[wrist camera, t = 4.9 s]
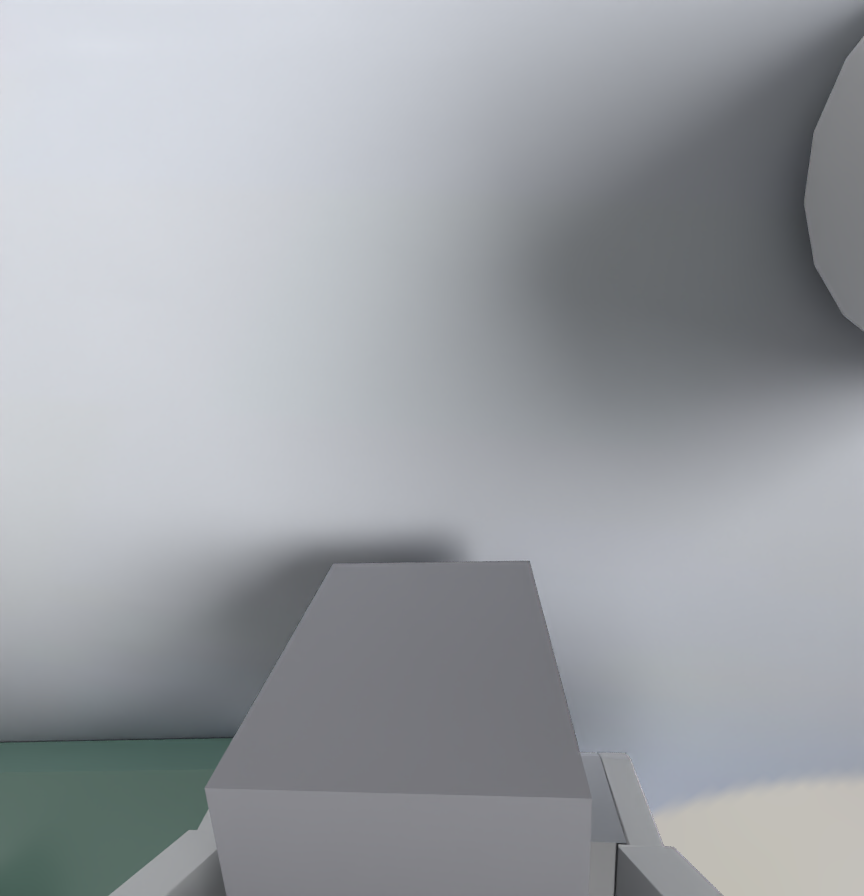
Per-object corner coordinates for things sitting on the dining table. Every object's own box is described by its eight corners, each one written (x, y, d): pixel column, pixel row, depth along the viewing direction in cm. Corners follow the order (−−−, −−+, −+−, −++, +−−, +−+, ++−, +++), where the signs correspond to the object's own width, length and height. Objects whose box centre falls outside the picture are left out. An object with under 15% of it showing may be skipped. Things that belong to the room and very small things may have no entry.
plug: (529, 561, 10) (590, 798, 5) (530, 846, 11) (577, 1233, 6) (333, 563, 10) (204, 787, 5) (363, 841, 12) (290, 1204, 7)
